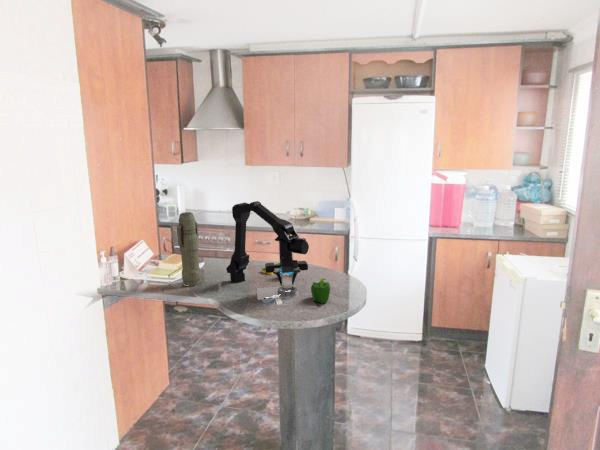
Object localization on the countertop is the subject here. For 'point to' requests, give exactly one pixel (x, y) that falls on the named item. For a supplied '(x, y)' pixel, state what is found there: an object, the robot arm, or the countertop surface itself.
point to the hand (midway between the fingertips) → (286, 284)
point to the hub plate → (277, 292)
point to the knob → (286, 280)
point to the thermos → (189, 249)
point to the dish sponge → (269, 273)
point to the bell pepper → (320, 291)
